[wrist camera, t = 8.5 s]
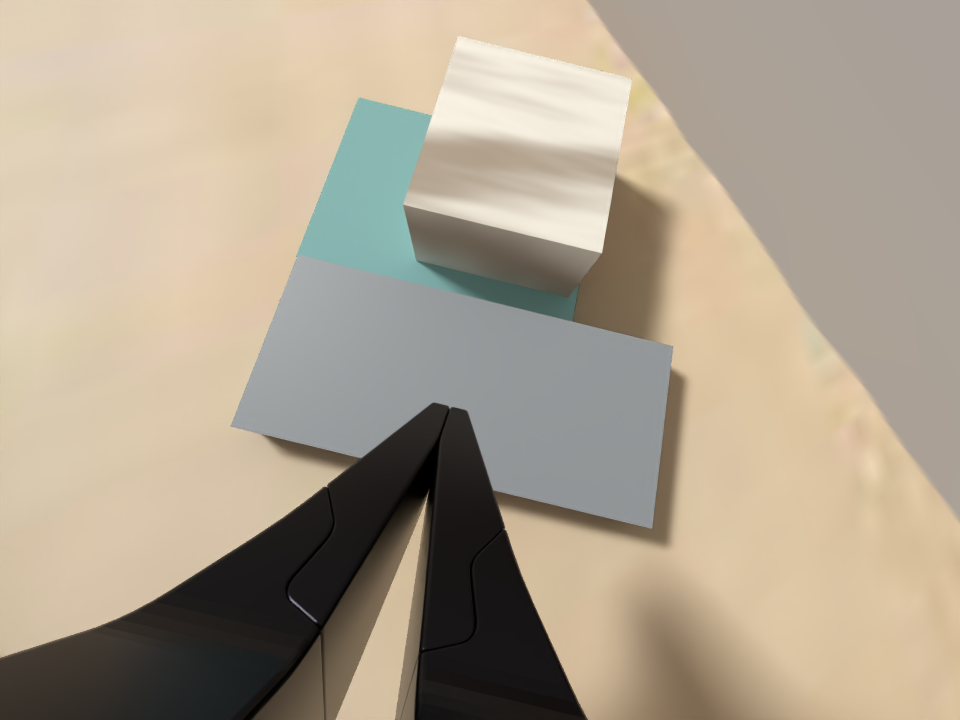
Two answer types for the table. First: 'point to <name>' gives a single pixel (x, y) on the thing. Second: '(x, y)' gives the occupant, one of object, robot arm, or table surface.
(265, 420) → the ledge
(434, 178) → the block
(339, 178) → the mat
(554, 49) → the table surface
